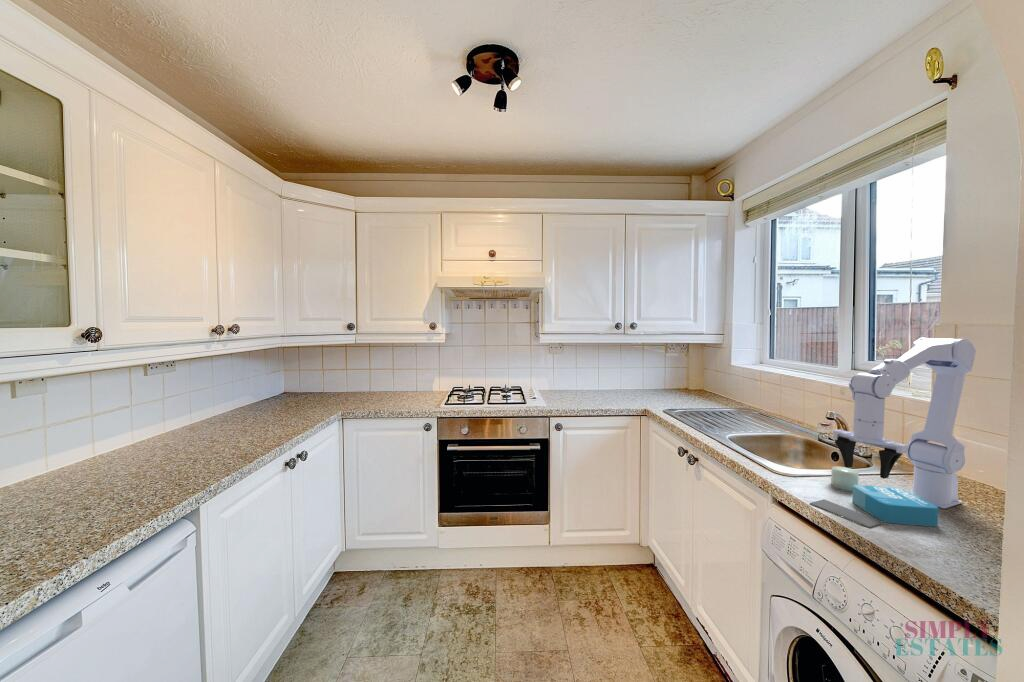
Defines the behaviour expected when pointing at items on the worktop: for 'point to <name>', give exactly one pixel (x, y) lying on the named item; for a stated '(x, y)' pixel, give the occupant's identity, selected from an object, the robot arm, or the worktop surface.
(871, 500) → the data package
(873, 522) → the rubber mat
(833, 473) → the mint green soap bar
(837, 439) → the robot arm
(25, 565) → the worktop surface
